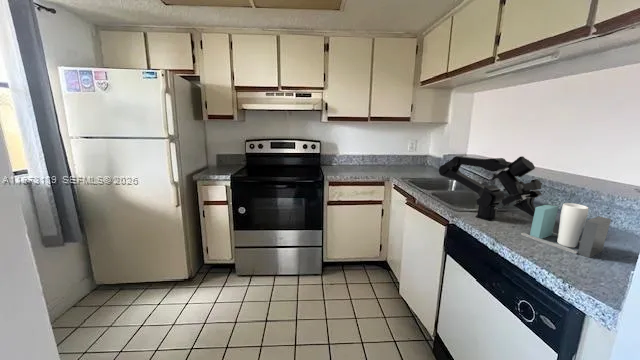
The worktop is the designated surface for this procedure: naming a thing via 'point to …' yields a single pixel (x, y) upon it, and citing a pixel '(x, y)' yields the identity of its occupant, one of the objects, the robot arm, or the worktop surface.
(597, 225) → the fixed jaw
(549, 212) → the block
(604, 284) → the worktop surface
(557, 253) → the worktop surface
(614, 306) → the worktop surface
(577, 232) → the drinking glass
